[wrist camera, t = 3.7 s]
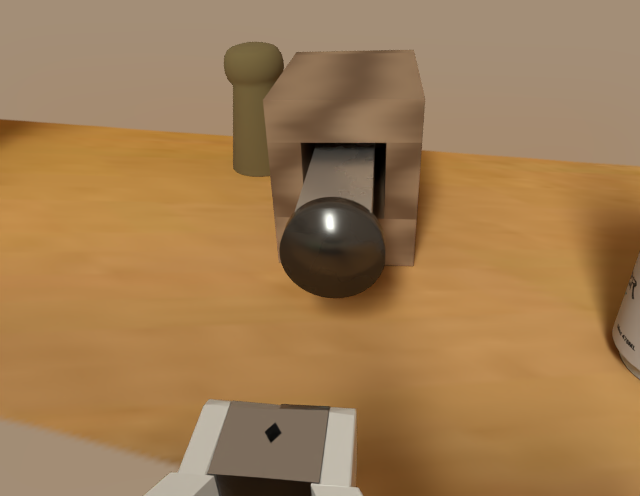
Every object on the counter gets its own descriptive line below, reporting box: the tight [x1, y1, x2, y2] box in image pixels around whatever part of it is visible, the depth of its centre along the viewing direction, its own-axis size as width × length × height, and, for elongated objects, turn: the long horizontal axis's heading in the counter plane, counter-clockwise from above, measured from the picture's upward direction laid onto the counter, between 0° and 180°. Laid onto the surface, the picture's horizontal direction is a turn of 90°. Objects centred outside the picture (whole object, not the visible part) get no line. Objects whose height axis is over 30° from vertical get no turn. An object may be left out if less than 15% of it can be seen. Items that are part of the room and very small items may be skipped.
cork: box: [224, 42, 284, 177], centre depth 46 cm, size 6×6×11 cm
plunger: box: [279, 143, 385, 298], centre depth 29 cm, size 5×13×5 cm, turn 174°
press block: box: [263, 50, 425, 266], centre depth 36 cm, size 9×13×11 cm
